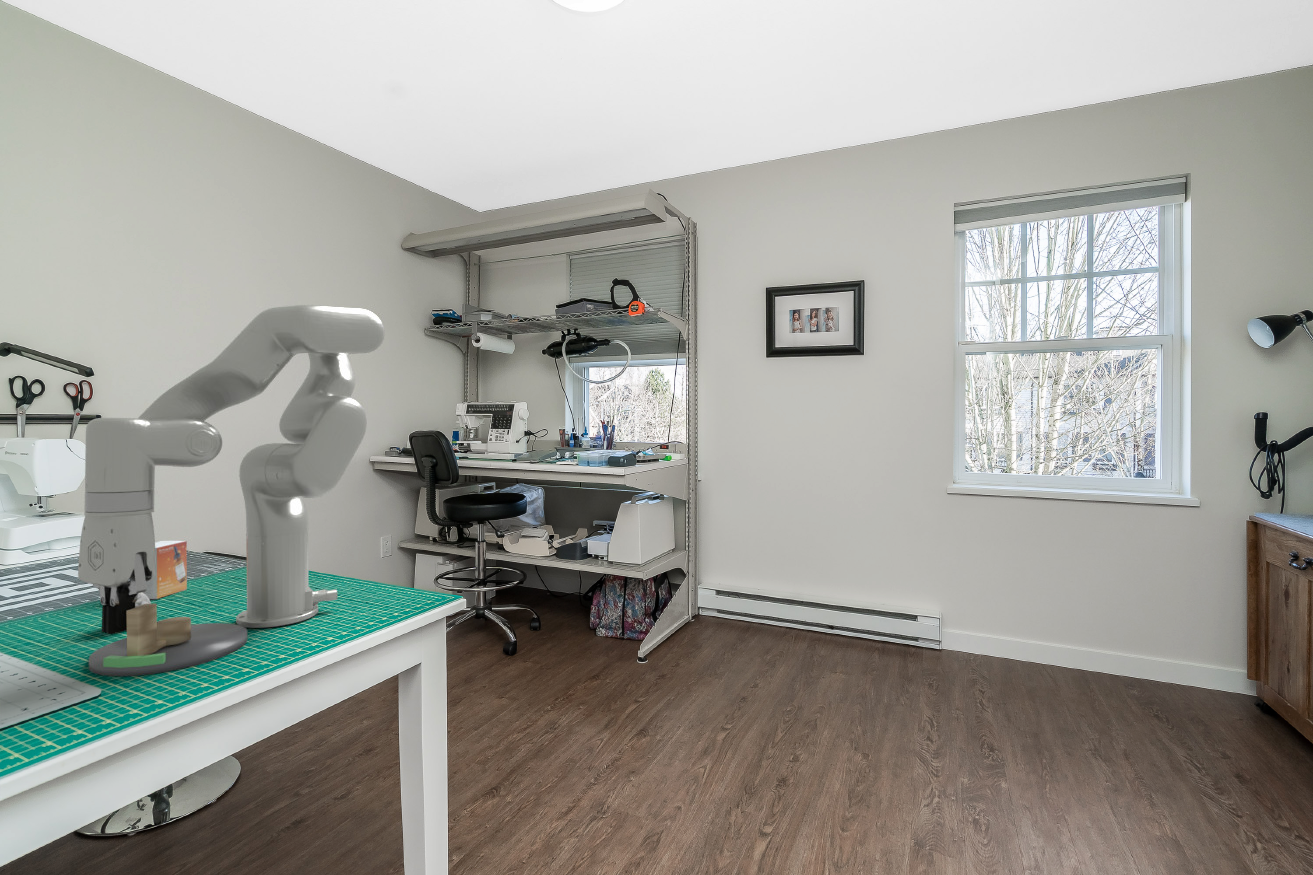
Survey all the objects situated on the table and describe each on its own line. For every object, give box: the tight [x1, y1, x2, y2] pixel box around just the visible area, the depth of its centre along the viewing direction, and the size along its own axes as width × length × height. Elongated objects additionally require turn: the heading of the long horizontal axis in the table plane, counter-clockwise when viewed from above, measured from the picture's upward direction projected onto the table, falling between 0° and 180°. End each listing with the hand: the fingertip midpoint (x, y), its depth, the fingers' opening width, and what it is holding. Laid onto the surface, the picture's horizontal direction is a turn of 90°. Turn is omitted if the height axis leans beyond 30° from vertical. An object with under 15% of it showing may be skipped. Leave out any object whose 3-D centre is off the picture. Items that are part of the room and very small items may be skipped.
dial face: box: [88, 622, 248, 677], centre depth 93 cm, size 19×19×2 cm
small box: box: [142, 540, 188, 600], centre depth 125 cm, size 8×6×10 cm
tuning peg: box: [126, 603, 192, 656], centre depth 90 cm, size 10×4×7 cm, turn 4°
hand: (118, 630), depth 87 cm, fingers closed
